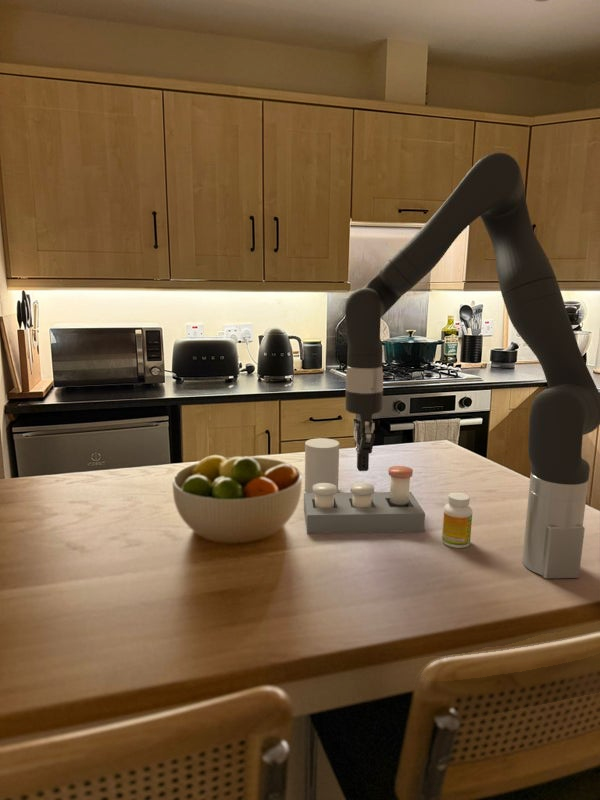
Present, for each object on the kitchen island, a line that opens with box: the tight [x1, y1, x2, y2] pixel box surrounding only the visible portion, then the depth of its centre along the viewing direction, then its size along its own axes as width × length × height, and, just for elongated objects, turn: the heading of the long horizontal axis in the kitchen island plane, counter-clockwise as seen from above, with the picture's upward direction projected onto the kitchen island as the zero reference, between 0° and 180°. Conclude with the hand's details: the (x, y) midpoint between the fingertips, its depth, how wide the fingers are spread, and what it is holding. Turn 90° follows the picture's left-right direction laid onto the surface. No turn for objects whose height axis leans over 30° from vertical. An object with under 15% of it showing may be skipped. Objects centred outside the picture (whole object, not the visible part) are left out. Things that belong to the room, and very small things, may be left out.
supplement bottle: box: [441, 492, 473, 549], centre depth 112 cm, size 5×5×10 cm
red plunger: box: [388, 465, 414, 505], centre depth 121 cm, size 5×5×7 cm
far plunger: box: [313, 483, 337, 508], centre depth 121 cm, size 5×5×7 cm
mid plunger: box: [349, 481, 375, 508], centre depth 122 cm, size 5×5×7 cm
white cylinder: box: [304, 437, 340, 493], centre depth 139 cm, size 8×8×12 cm
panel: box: [303, 491, 426, 535], centre depth 122 cm, size 12×24×4 cm, turn 93°
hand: (362, 469), depth 120 cm, fingers closed
